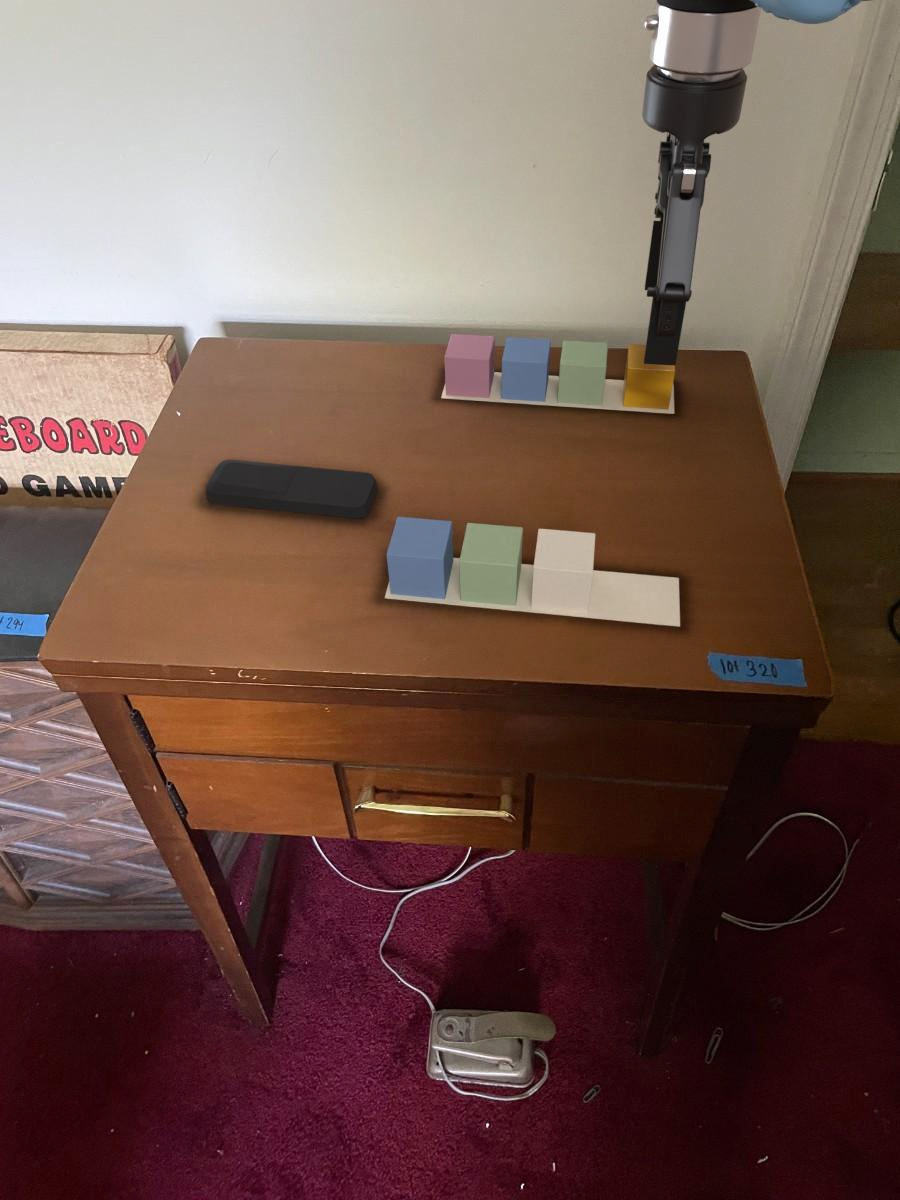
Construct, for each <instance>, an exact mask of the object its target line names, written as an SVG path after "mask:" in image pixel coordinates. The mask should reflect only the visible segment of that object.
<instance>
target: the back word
mask: <svg viewBox="0 0 900 1200" xmlns="http://www.w3.org/2000/svg"><path fill="white" fill-rule="evenodd" d="M495 340H496V336H495V335H484V334H483V335H481V334H480V335H479V334H462V333H451V334H450V337H449V340H448V343H447V348H446V350H445V355H444V387H443V390H442V393H441V397H440V398H441V399H446V400H461V401H474V402H476V401H478V402H488V403H489V402H490V403H506V404H520V405H521V404H522V405H534V406H535V405H537V406H548V407H549V406H550V407H551V406H552V407H567V408H579V409H580V408H581V409H595V410H596V409H597V410H608V411H609V410H610V411H624V412H625V411H627V412H638V413H639V412H640V413H641V412H642V413H655V414H670V415H671V414H672V415H673V414H674V415H675V384H674V382H673V386H672V392H671V397H670V403H669V409H652V408H637V407H624V406H623V392H624V379H609V378H606V375H607V374H606V373H607V366H608V365H607V364H608V348H609V343H608V342H602V341H601V342H600V341H582V340H567V339H565V340H563V341H562V347H561V353H560V360H559V361H560V362H559V374H558V375H550V362H551V361H550V360H551V347H552V345H551V344H552V340H551V339H550V338H549V339H548V338H533V337H532V338H531V337H515V336H507V337H506V340H505V344H504V348H503V353H502V358H501V372H499V371H498V372H497V371H495V356H496V355H495V353H496V352H495V350H496V349H495V348H496V346H495V342H496V341H495Z"/></svg>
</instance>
